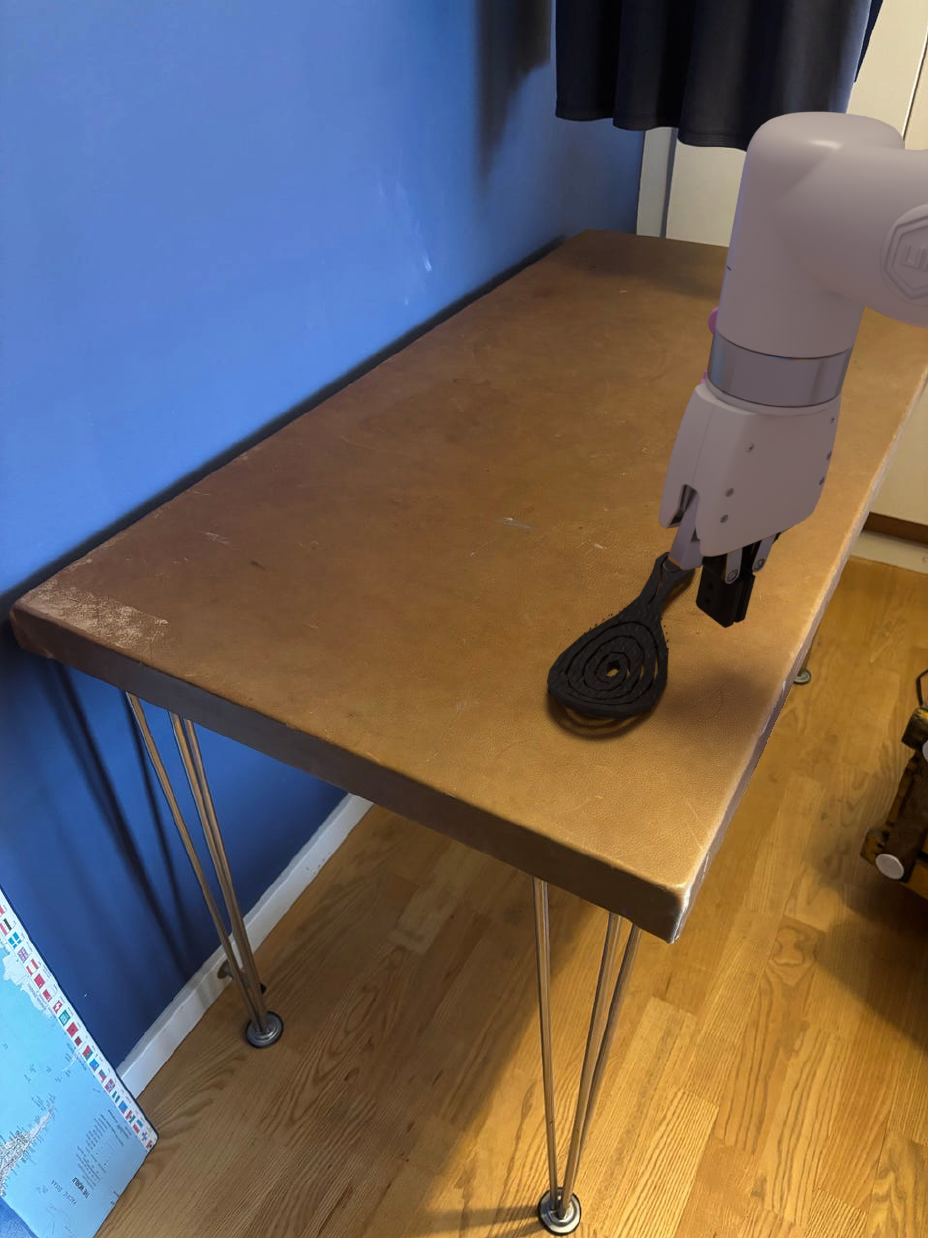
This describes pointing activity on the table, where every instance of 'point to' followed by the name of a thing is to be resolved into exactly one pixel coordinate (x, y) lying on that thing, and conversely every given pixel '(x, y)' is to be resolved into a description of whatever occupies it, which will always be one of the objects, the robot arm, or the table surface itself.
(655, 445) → the table surface
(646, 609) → the hairbrush
